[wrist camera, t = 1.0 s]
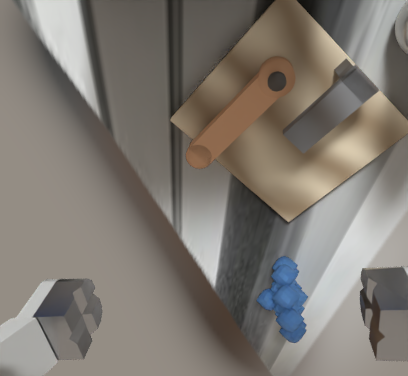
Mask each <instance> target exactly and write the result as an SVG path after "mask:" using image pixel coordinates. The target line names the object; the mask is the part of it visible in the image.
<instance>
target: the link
mask: <svg viewBox="0 0 408 376" xmlns="http://www.w3.org/2000/svg"><path fill="white" fill-rule="evenodd" d="M276 71H279V72H282V73H283V74H284V75H285V77H286V86H285V87H284V89H282V90H281V91H277V92H276V91H272V90H271V89H270V88H269V87H268V77H269V75H270V74H271V73H273V72H276ZM294 84H295V73H294V69H293V66H292V64H291V63H290V61H288V60H287V59H286V58H284V57H280V56H275V57H271V58H269V59H267V60H266V61H265V62H264V63H263V64H262V65H261V67H260V70H259V72H258V73H257V74H256V75H255V76H254V77H253V78H252V79H251V81H250V82H249V83H248V84H247V85H246V86H245V87H244V88H243V89H242V90H241V91H240V92H239V93H238V94H237V95H236V96H235V97H234V98H233V99H232V100H231V101H230V102H229V103H228V104H227V105H226V106H225V108H224V109H223V110H222V111H221V112H220V113H219V114H218V115H217V116H216V117H215V118H214V119H213V120H212V121H211V122H210V123H209V124H208V125H207V126H206V127H205V128H204V129H203V130H202V131H201V132H200V133H199V135H198V136H197V137H196V138H195V139H194V140H193V141H192V142H191V143H190V145H189V148H188V150H187V152H186V159H187V162H188V163H189V164H190V165H191V166H192V167H194V168H198V169H202V168H205V167H207V166H208V165H209V164H211V163H212V162H213V161H214V160H215V159H216V158H217V157H218V156H219V155H220V154H221V153H222V152H223V151H224V150H225V149H226V148H227V147H228V146H229V145H230V144H231V143H232V142H233V141H234V140H236V139H237V138H238V137H239V136H240V135H241V134H242V133H243V132H244V131H245V130H246V129H247V128H248V127H249V126H250V125H251V124H252V123H253V122H254V121H255V120H256V119H257V118H258V117H259V116H261V115H262V114H263V113H264V112H265V111H266V110H267V109H268V108H269V107H270V106H271V105H272V104H273V103H274V102H275V101H276V100H277V99H278V98H279V97H282V96H285V95H286V94H288V93H289V92H290V91H291V90H292V88H293V86H294Z"/></svg>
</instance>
